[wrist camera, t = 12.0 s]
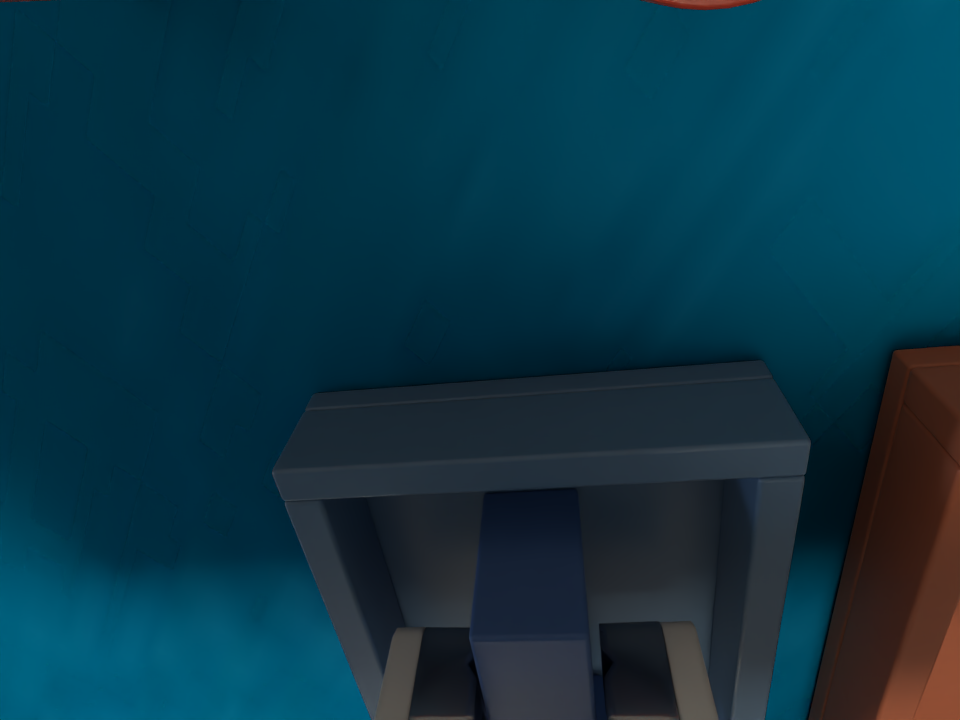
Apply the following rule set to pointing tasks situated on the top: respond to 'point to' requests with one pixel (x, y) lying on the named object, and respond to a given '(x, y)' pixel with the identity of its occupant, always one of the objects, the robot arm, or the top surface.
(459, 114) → the top surface
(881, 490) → the terracotta tray
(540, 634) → the navy paddle shape
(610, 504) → the blue tray
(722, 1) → the red paddle shape
